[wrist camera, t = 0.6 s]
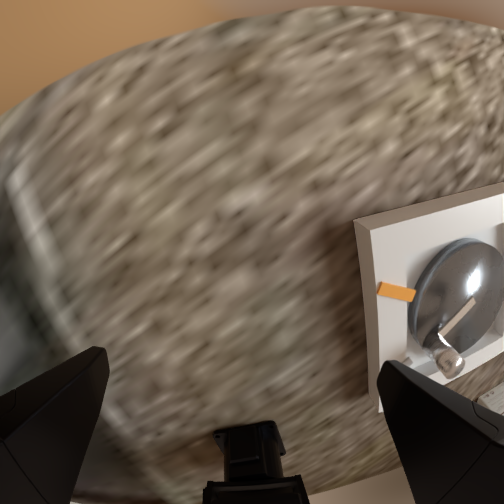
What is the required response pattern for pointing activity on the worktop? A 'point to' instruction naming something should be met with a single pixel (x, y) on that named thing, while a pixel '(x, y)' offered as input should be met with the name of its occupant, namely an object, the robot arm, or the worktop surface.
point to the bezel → (410, 269)
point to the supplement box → (493, 399)
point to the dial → (456, 302)
